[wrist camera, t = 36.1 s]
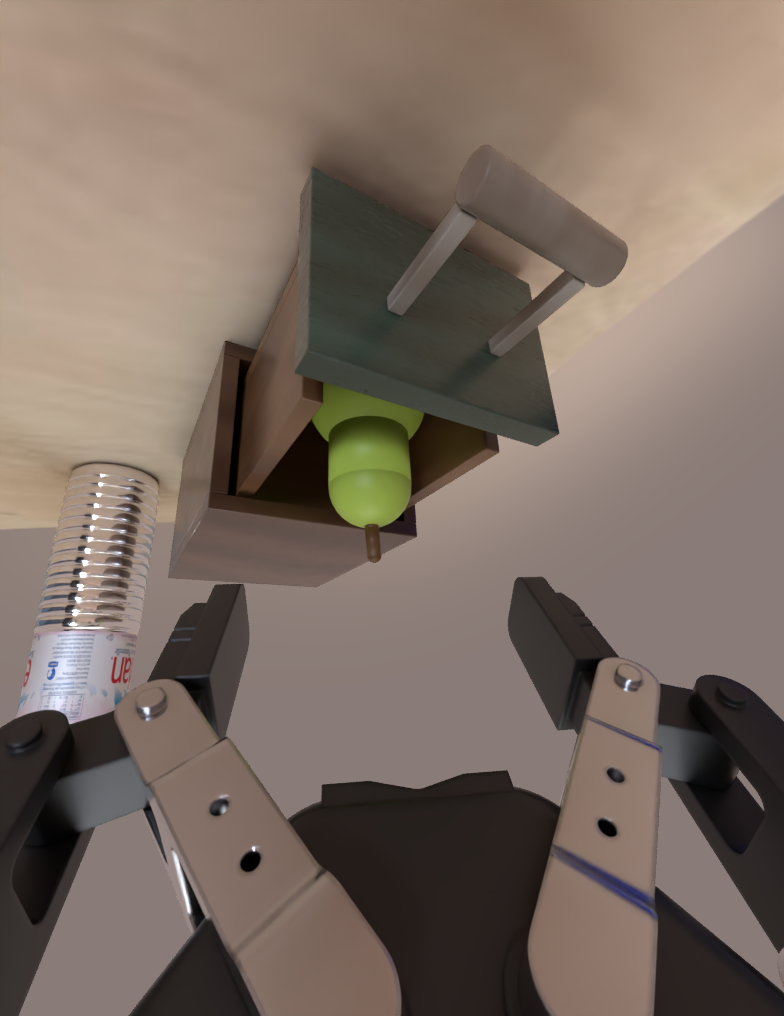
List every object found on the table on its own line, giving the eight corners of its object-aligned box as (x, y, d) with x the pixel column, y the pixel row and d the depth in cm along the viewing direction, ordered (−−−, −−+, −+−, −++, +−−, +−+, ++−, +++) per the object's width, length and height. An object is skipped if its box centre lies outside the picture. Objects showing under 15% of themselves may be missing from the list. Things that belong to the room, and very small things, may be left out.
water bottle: (80, 451, 35) (-7, 840, 26) (172, 475, 39) (126, 813, 30) (62, 480, 39) (-17, 819, 31) (147, 498, 44) (99, 798, 35)
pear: (290, 314, 20) (280, 549, 16) (414, 291, 19) (434, 533, 16) (328, 387, 25) (327, 579, 22) (427, 372, 25) (445, 569, 21)
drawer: (390, -32, 11) (410, 180, 9) (638, 178, 17) (701, 353, 14) (222, 391, 27) (209, 514, 24) (375, 431, 32) (380, 536, 29)
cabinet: (225, 340, 24) (207, 508, 21) (407, 397, 30) (417, 536, 27) (183, 460, 37) (167, 578, 34) (317, 484, 43) (316, 587, 39)
